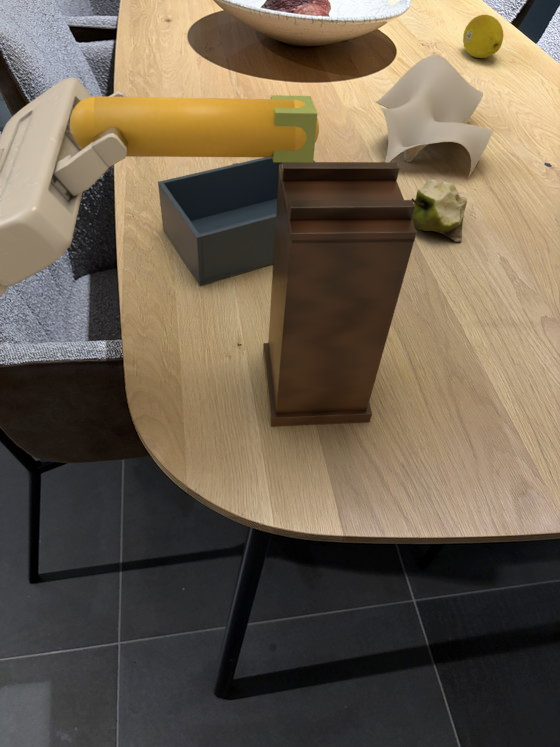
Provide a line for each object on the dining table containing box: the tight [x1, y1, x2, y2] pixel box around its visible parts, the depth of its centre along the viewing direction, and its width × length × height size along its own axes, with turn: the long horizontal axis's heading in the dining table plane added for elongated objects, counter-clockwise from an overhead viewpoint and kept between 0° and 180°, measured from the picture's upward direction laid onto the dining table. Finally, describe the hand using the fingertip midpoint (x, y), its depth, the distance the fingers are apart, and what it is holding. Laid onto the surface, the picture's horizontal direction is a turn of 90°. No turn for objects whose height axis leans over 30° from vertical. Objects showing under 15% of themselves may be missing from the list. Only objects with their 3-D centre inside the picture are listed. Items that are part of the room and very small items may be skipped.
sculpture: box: [375, 54, 493, 179], centre depth 104 cm, size 25×19×10 cm
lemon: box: [462, 14, 504, 59], centre depth 129 cm, size 11×8×8 cm
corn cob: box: [70, 94, 320, 163], centre depth 44 cm, size 18×4×4 cm, turn 95°
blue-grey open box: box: [157, 157, 316, 287], centre depth 83 cm, size 22×13×8 cm, turn 118°
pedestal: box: [262, 161, 418, 427], centre depth 59 cm, size 11×11×26 cm
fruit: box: [410, 178, 468, 243], centre depth 88 cm, size 9×9×8 cm
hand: (125, 121), depth 43 cm, fingers closed on corn cob, 4 cm apart
